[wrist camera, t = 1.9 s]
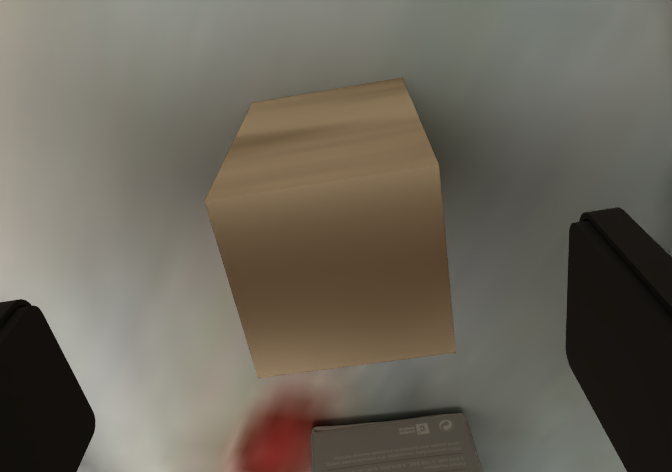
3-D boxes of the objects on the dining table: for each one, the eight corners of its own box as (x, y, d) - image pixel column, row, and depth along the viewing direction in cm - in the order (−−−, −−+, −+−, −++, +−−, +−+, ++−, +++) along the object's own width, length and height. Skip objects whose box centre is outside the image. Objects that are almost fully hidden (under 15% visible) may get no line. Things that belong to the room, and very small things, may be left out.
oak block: (417, 214, 19) (455, 352, 13) (283, 233, 19) (258, 377, 13) (402, 77, 17) (439, 164, 11) (252, 102, 17) (204, 201, 11)
